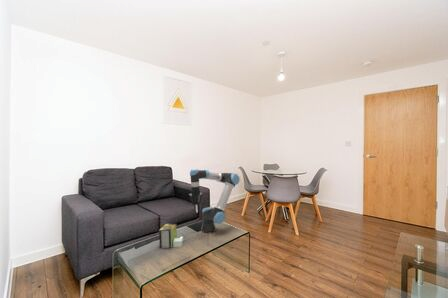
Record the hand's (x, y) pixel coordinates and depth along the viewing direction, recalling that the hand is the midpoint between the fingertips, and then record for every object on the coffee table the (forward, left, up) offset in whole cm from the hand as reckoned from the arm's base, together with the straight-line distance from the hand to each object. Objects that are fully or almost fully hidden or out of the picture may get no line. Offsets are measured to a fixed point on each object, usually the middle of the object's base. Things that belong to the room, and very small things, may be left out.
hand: (196, 211), depth 189 cm
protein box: (+1, -26, -27) cm, 37 cm away
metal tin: (-4, -15, -27) cm, 31 cm away
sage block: (+5, -17, -27) cm, 32 cm away
